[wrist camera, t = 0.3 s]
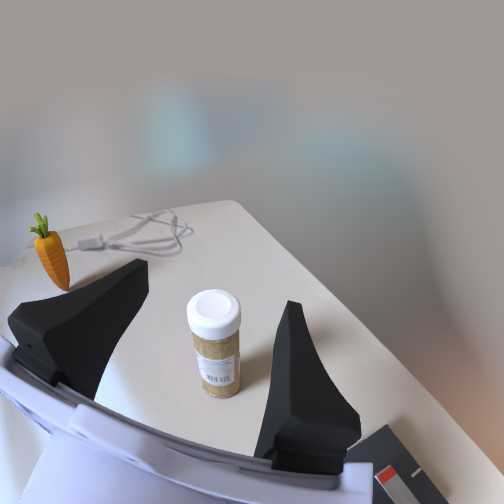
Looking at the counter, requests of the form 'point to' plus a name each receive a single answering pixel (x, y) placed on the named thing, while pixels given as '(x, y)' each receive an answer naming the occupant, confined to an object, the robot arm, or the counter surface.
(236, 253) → the counter surface
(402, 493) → the tap handle
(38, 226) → the carrot
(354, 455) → the base
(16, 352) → the robot arm
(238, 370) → the sprinkles bottle
